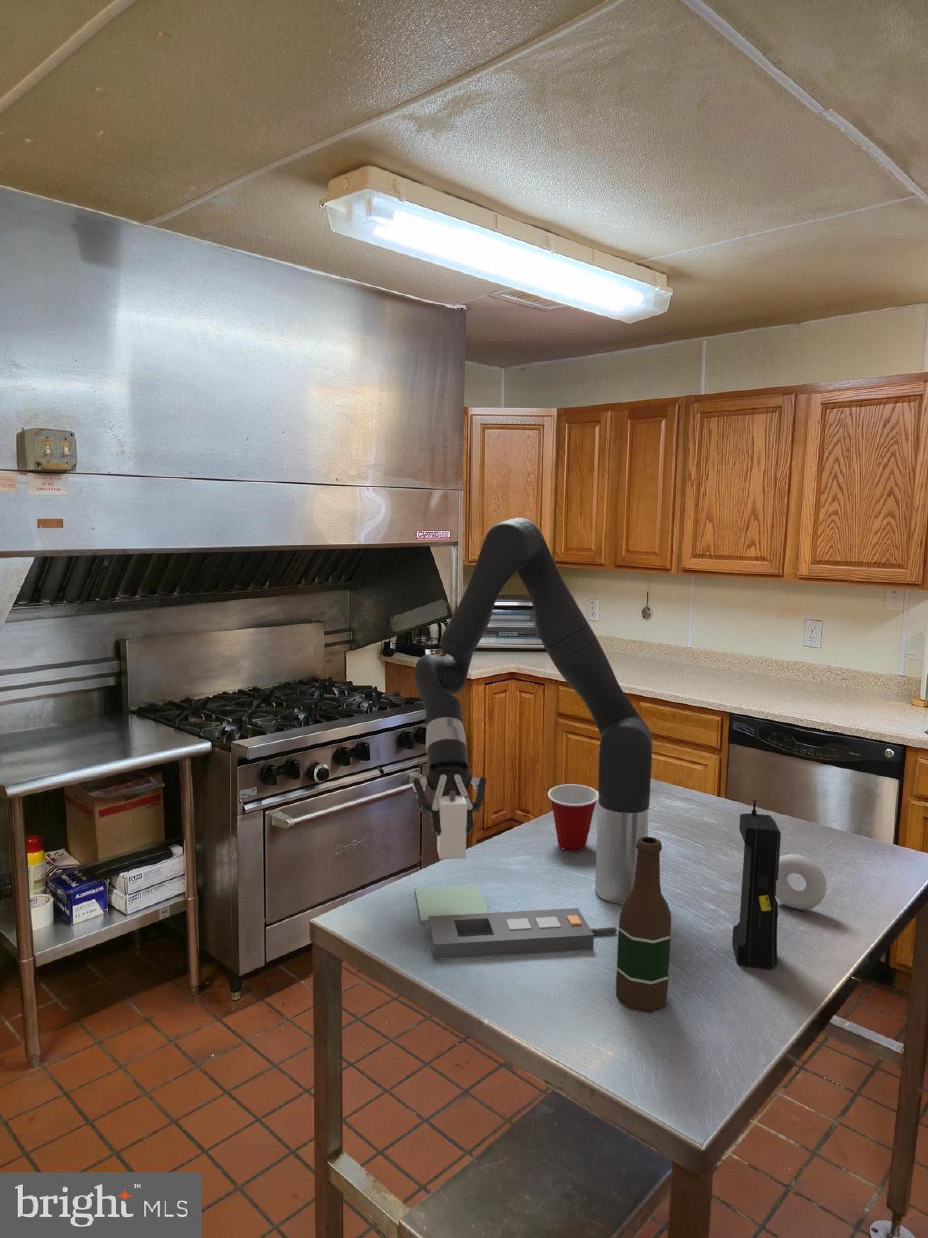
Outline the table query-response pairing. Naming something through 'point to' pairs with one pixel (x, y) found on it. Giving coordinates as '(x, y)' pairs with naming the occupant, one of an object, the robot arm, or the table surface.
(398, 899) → the table surface
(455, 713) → the robot arm
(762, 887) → the portable radio
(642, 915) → the beer bottle
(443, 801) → the block
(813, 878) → the donut
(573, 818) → the plastic cup
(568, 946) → the power strip
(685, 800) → the table surface
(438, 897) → the mat
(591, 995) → the table surface
